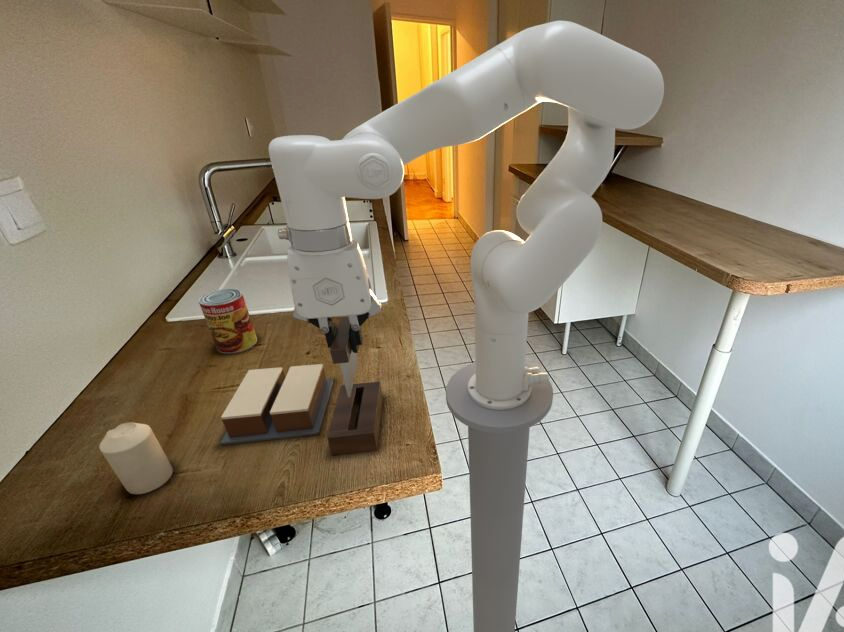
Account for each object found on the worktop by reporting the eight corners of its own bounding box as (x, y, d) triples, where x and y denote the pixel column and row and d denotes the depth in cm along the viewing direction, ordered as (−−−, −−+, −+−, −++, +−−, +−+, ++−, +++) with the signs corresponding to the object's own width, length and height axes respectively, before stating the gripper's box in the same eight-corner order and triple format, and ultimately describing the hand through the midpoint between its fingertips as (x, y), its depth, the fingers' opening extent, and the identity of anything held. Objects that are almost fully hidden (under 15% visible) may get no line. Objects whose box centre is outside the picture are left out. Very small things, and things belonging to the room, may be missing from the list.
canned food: (208, 352, 90) (189, 303, 84) (232, 333, 97) (215, 287, 91) (243, 354, 90) (226, 305, 84) (264, 336, 96) (250, 289, 91)
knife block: (344, 401, 78) (340, 384, 76) (383, 397, 79) (380, 381, 77) (332, 455, 66) (327, 437, 64) (377, 450, 68) (373, 432, 66)
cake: (334, 381, 83) (329, 360, 80) (318, 434, 70) (312, 412, 68) (252, 388, 80) (244, 367, 77) (221, 445, 67) (211, 422, 65)
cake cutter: (350, 361, 72) (340, 316, 67) (363, 360, 72) (354, 315, 68) (341, 398, 63) (329, 350, 59) (356, 396, 64) (345, 349, 59)
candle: (161, 491, 59) (132, 442, 54) (117, 497, 58) (83, 447, 53) (180, 462, 64) (154, 414, 59) (139, 467, 63) (110, 418, 58)
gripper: (247, 248, 51) (286, 368, 60) (381, 242, 54) (398, 357, 63) (266, 230, 57) (298, 341, 67) (385, 225, 60) (400, 332, 69)
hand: (346, 348), depth 65 cm, fingers closed on cake cutter, 2 cm apart
